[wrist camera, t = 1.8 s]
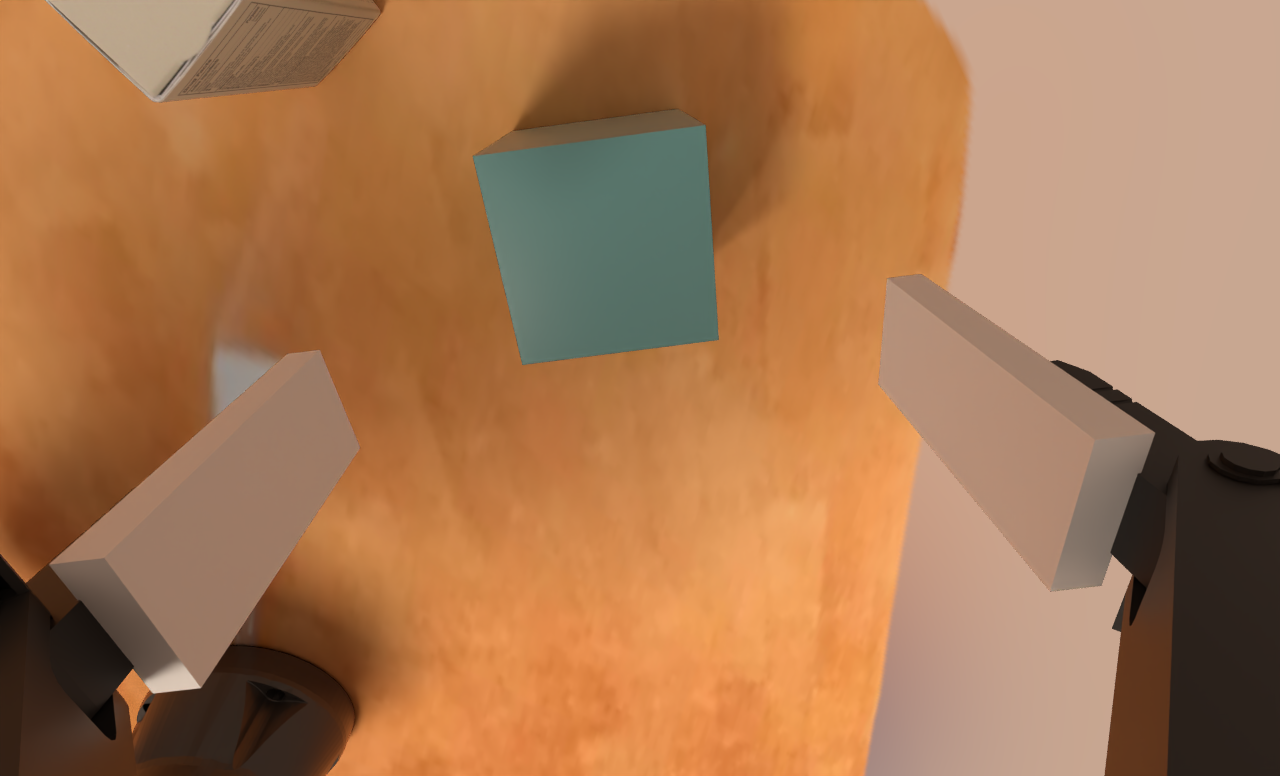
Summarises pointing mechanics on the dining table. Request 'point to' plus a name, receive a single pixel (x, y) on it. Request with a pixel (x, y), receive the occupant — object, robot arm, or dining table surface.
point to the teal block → (603, 234)
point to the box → (220, 42)
